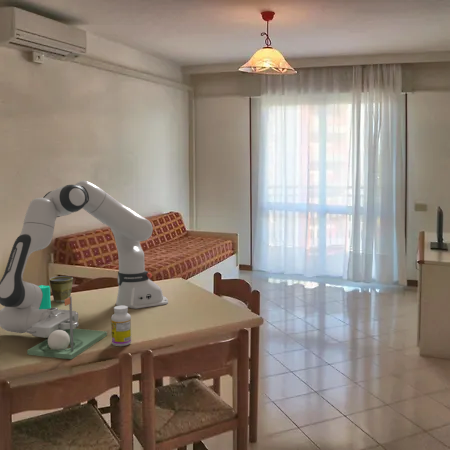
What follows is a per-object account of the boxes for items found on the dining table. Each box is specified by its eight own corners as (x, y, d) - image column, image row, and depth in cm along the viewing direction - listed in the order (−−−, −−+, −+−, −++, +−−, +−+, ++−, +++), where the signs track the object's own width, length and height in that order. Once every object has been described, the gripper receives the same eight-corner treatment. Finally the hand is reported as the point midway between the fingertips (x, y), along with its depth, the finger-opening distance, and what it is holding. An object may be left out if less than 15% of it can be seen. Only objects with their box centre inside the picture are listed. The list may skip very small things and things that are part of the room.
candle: (46, 313, 223) (45, 285, 221) (32, 313, 224) (31, 284, 222) (53, 309, 229) (52, 281, 227) (40, 309, 230) (39, 281, 228)
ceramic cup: (76, 301, 242) (75, 279, 241) (54, 304, 237) (53, 282, 236) (67, 295, 253) (66, 273, 252) (45, 298, 247) (44, 276, 246)
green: (67, 331, 200) (65, 279, 198) (106, 335, 196) (105, 282, 194) (27, 354, 177) (24, 296, 175) (71, 359, 173) (69, 299, 171)
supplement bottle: (113, 340, 191) (112, 304, 189) (132, 340, 191) (131, 304, 190) (110, 347, 184) (109, 310, 183) (130, 346, 185) (129, 309, 183)
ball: (50, 344, 174) (57, 359, 178) (70, 332, 178) (76, 347, 182) (41, 333, 179) (47, 348, 183) (60, 322, 182) (66, 337, 186)
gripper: (22, 322, 183) (59, 325, 179) (56, 306, 202) (90, 308, 199) (23, 340, 183) (60, 344, 180) (57, 322, 203) (90, 325, 199)
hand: (76, 325), depth 189 cm, fingers closed
